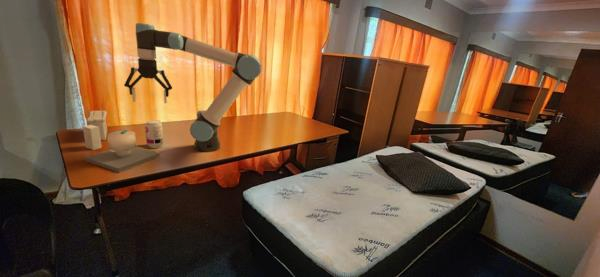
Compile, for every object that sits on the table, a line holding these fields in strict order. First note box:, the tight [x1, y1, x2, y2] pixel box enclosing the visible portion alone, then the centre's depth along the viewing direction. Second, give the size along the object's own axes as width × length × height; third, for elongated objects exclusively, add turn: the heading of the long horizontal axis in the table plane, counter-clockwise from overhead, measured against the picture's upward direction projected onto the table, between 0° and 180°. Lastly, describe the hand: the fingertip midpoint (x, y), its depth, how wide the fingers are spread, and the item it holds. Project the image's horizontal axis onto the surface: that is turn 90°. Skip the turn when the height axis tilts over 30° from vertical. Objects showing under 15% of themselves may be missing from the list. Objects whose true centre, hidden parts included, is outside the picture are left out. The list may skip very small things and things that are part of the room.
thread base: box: [83, 145, 161, 173], centre depth 120 cm, size 22×22×7 cm
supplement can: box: [144, 119, 164, 149], centre depth 137 cm, size 8×8×15 cm
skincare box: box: [82, 124, 102, 151], centre depth 126 cm, size 6×4×12 cm
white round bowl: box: [106, 129, 137, 150], centre depth 118 cm, size 11×11×7 cm
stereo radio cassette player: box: [86, 106, 108, 141], centre depth 140 cm, size 21×8×20 cm, turn 35°
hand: (150, 102), depth 121 cm, fingers open, 13 cm apart
